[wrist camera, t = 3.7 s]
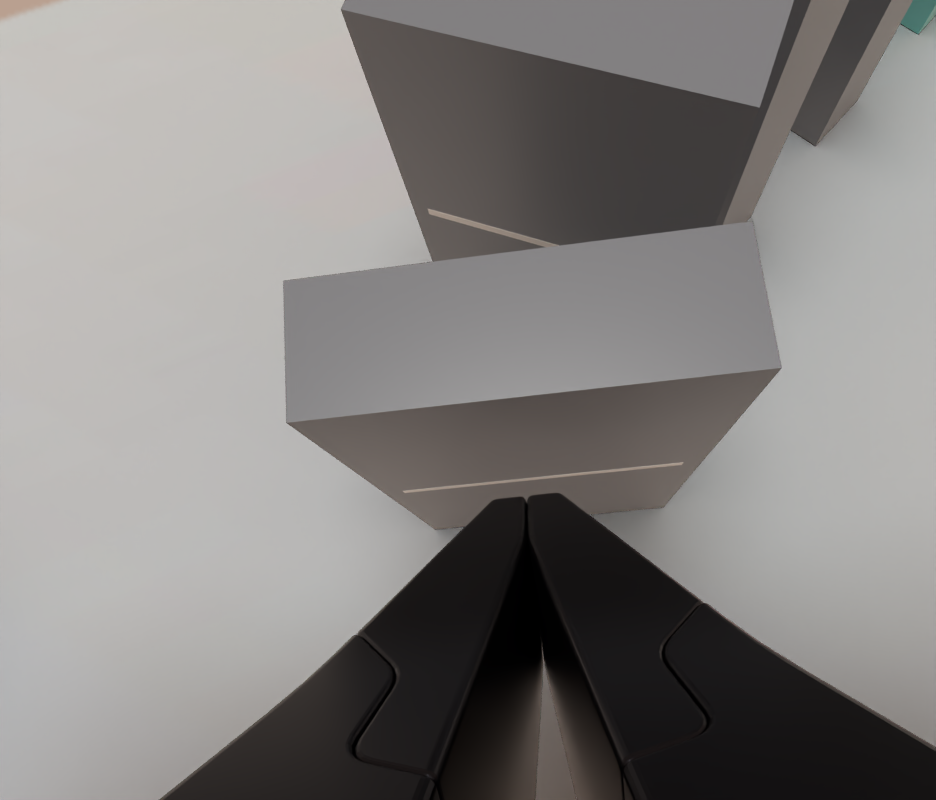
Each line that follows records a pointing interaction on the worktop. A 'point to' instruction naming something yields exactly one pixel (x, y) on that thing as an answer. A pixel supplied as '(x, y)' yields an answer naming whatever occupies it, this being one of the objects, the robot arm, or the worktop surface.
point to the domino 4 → (848, 64)
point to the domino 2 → (533, 369)
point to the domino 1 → (564, 112)
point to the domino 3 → (781, 101)
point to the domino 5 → (919, 14)
